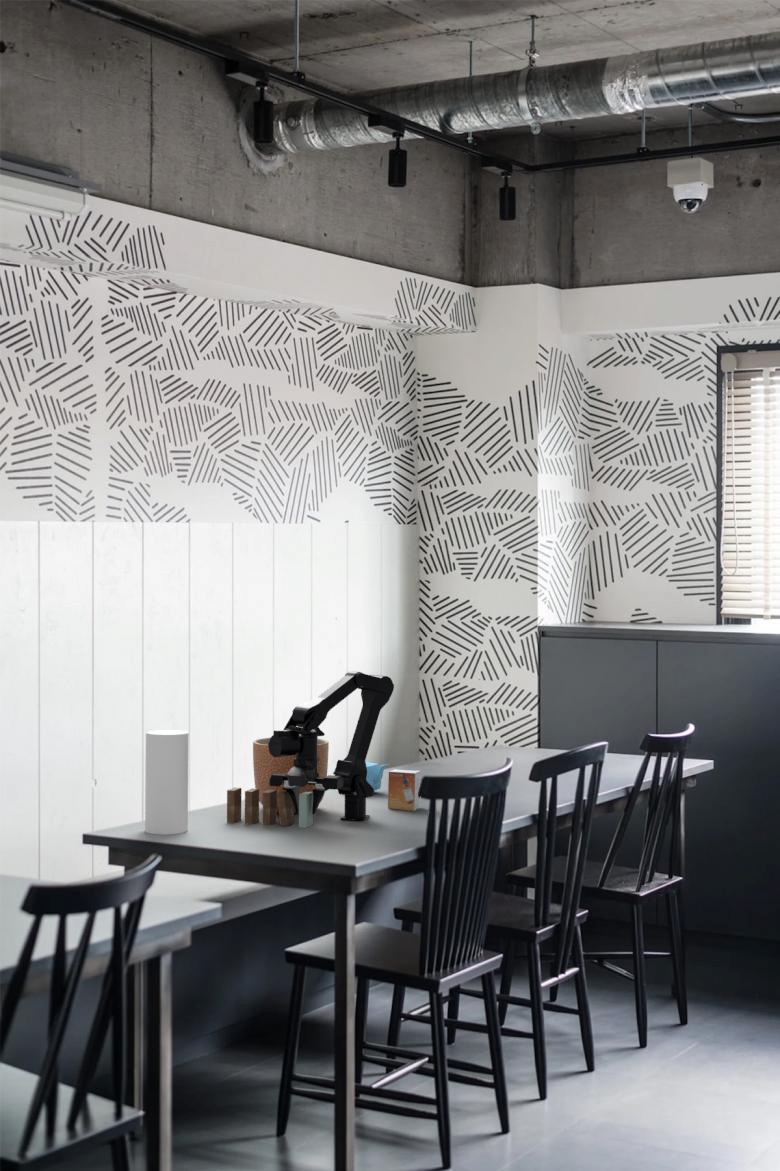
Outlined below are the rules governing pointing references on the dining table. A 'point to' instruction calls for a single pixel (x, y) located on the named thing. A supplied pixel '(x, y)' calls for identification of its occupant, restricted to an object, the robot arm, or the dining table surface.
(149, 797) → the tall pillar cylinder
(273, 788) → the planter
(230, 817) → the domino
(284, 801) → the domino
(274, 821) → the domino
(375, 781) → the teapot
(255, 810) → the domino
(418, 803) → the small box
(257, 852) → the dining table surface
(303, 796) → the domino
